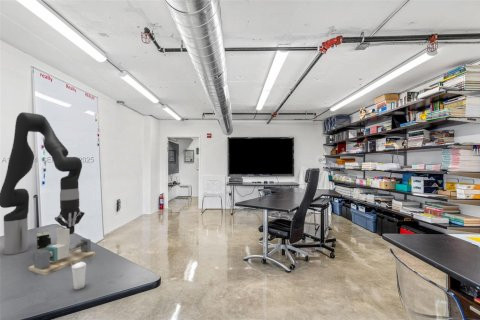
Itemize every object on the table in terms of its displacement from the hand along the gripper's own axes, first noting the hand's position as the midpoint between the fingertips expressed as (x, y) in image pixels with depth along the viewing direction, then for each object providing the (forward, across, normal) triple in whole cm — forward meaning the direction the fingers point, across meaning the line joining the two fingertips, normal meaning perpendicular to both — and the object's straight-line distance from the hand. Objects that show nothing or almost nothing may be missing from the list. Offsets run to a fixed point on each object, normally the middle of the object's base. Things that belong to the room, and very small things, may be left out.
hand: (70, 233), depth 114 cm
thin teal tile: (+9, +8, 0) cm, 12 cm away
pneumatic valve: (+13, +1, -20) cm, 24 cm away
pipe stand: (+12, +3, 0) cm, 13 cm away
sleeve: (+9, +5, 0) cm, 11 cm away
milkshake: (+13, +15, +29) cm, 35 cm away
